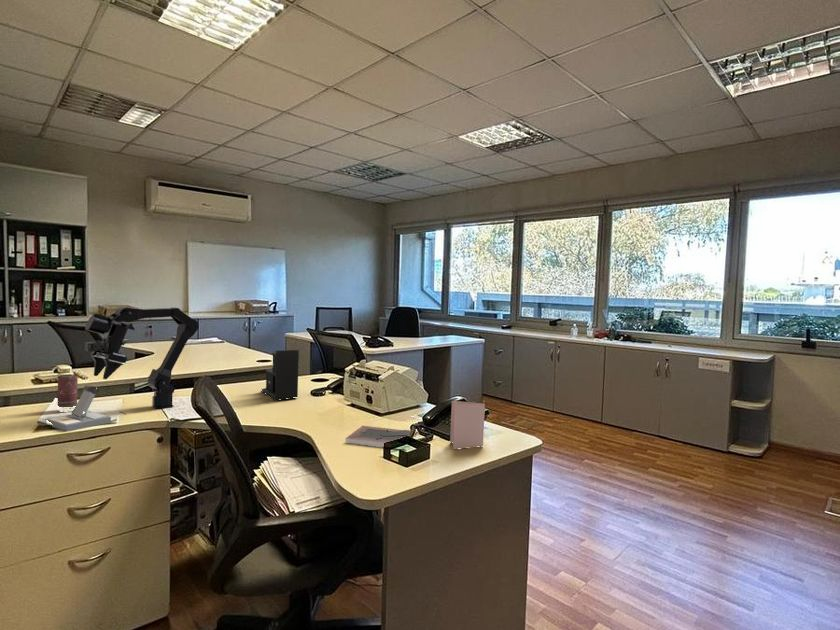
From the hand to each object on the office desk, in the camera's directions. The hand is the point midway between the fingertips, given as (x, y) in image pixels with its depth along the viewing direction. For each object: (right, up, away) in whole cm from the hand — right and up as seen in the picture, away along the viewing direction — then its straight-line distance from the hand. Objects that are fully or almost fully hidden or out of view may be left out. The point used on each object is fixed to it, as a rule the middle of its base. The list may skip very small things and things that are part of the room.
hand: (99, 377), depth 171 cm
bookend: (+52, -16, +49) cm, 74 cm away
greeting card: (+137, -22, -18) cm, 139 cm away
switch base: (-1, -15, -9) cm, 18 cm away
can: (-18, -14, +7) cm, 24 cm away
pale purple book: (+108, -21, -12) cm, 111 cm away
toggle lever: (-1, -12, -9) cm, 15 cm away
